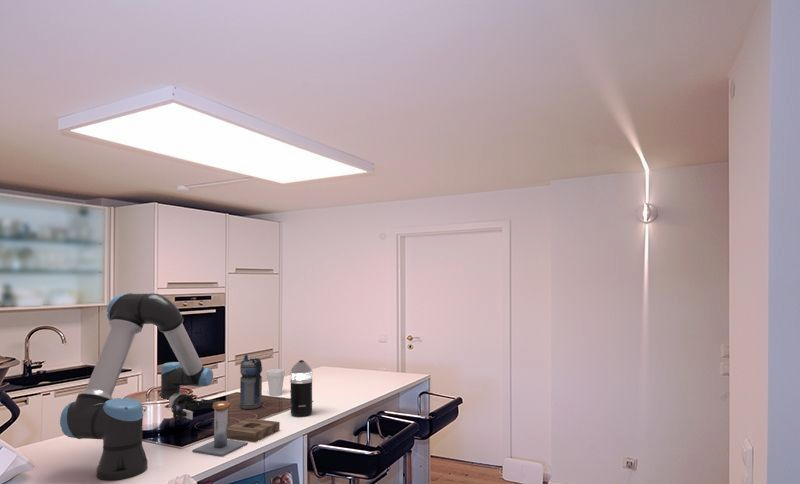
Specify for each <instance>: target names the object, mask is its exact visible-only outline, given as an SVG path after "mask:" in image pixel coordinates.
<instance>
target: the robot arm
mask: <svg viewBox="0 0 800 484" xmlns="http://www.w3.org/2000/svg"><path fill="white" fill-rule="evenodd" d="M106 312H107V314H106V317H107V319H108V325H109V327H110V330H109V333H108V335H107V338H106V340H105V342H104V345H103V347H102V349H101V352H100V354H99V356H98V359H97V362H96V364H95V365H94V368H93V370H92V373H91V375H90V377H89V380H88V382H87V385H86V388H85V390H84V391H82V392H80V393H78V395H77V397H76V398H75V401H72V402H70V403H68V405H65V407H64V408H63V409H62V412H61V415H60V419H59V424H60V427H61V432H62V433H63V434H64V435H65V436H66V437H68V438H70V439H71V438H72V439H77V440H85V439H87V440H89V439H90V440H102V445H103V446H102V454H101V456H100V459H99V462H98V465H97V467H96V473H95V474H96V478H97V479H99V480H103V481H117V480H122V479H123V480H124V479H128V478H131V477H135V476H138V475H140V474H142V473H144V472H145V471H146V470H148V464H149V463H148V458H147V456H146V452H145V450H144V447H143V424H144V423H143V421H144V419H143V417H144V412H143V404H142V403H141V401H140V400H137V399H135V398H129V397H128V398H127V397H123V398H121V397H118V398H113V392H114V390H115V387H116V385H117V382H118V379H119V377H120V374H121V372H122V369H123V367H124V364H125V362H126V360H127V357H128V354H129V352H130V350H131V346H132V344H133V341H134V339H135V336H136V334H139V333H141V332H142V330H143V327H144V325H150V324H151V325H154V326H156V328H157V329H158V331H159V332H161V333H163V334H164V336H165V338H166V340H167V341H168V342H167V343H168V344H169V346H170V348H171V349H172V352H173V353H174V355H175V357H176V359H177V361H178V362H177V361H170V362H165V363H163V364H162V365H161V372H160V378H161V379H160V387H161V388H160V389H161V390H160V392H159V393H158V394H159V396H161V398H163V399H167V400H169V406H170V408H171V410H170V411H171V412H172V418H175V419H176V418H177V416H178V419H182V418H184V419H185V418H186V419H188V420H193V417H194V416H193V414H194V411H198V410H199V411H200V410H202V409H213V403H215V402H218V401H222V400H220V399H204V398H202V399H200V400H195V399H194V398H193V397H192V396H191V395H188V394H185V393H182V392H181V386H182V387H200V388H201V387H208V386H209V385H211V383H212V382H213V378H214V372H213V370H212V369H211V368H208V367H204V365H203V363H202V361H201V359H200V357H199V355H198V353H197V351H196V348H195V347H194V344H193V342H192V341H191V338H190V337H189V334H188V332H187V331H186V328H185V325H184V324H183V322H184V316H183V315H182V312H180V310H179V308H178V307H177V306H176V305H175V304H174V303H173V302H172V301H171V300H170V299H168V297H165V296H164V295H162V294H159V293H154V292H153V293H132V292H131V293H130V292H129V293H128V292H127V293H122V294H118V295H116V296H114V297H113V298H112V299H111V300H110V302H109V303H108V305H107V310H106Z"/></svg>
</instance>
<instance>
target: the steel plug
mask: <svg viewBox="0 0 800 484" xmlns="http://www.w3.org/2000/svg"><path fill="white" fill-rule="evenodd" d="M230 404H231V403H230V401H228V400H221V401H218V402H215V403H213V408H212V409H213V410H214V413H213V414H214V418H213V441H214V447H215V448H223V447H226V446H227V439H228V438H227V427H229V425H228V424H229V423H228V421H229V420H228V419H229V418H228V417H229V414H228V411H229V410H228V409H229V408H230Z"/></svg>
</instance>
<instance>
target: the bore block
mask: <svg viewBox="0 0 800 484" xmlns="http://www.w3.org/2000/svg"><path fill="white" fill-rule="evenodd" d="M280 424H281V423H280V421H276V420H275V421H274V420H266V419H258V418H257V419H256V418H251V417H249V418H246V419H243V420H241V421H239V422H236V423H234V424H232V425H228V427H227V439H228V440H235V441H242V442H248V443H249V442H250V443H256V442H258V440H259V441H261V440H263V439H264V438H268V437H269V436H271V435H273V434H275V433H278V432H279V431H280V426H281V425H280ZM262 438H263V439H262ZM260 439H261V440H260Z"/></svg>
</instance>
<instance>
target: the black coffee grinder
mask: <svg viewBox="0 0 800 484" xmlns="http://www.w3.org/2000/svg"><path fill="white" fill-rule="evenodd" d="M289 378H290V380H289V383H290V415H292V416H293V417H299V418H300V417H307V416H309V415H312V413H313V370H312V367H311V365H309V363H307V362H305V360H303V359H300V360H299V361H297V362H296V363H295V364H294V365H293V366H292V368H291V370H290V377H289Z"/></svg>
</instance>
